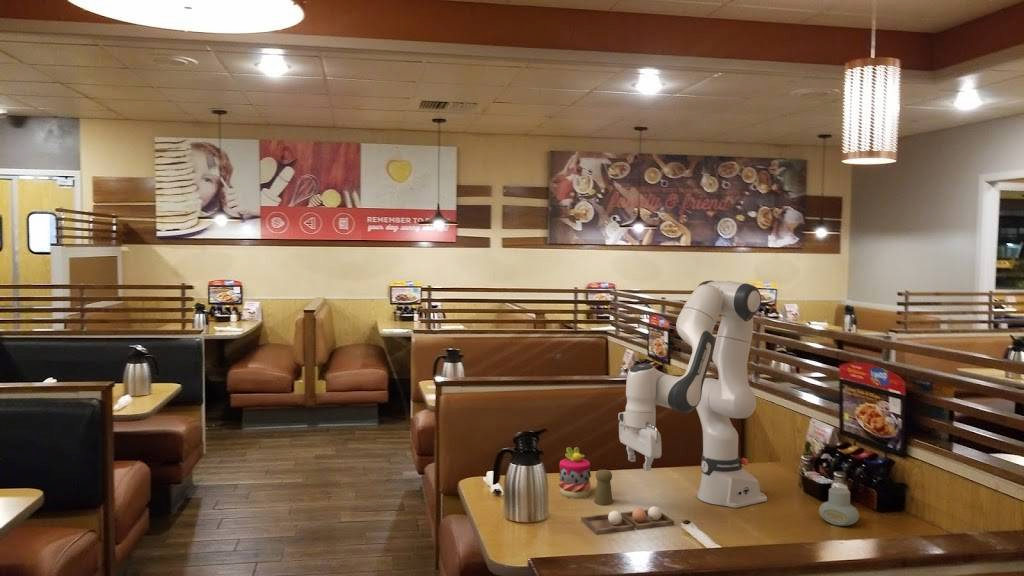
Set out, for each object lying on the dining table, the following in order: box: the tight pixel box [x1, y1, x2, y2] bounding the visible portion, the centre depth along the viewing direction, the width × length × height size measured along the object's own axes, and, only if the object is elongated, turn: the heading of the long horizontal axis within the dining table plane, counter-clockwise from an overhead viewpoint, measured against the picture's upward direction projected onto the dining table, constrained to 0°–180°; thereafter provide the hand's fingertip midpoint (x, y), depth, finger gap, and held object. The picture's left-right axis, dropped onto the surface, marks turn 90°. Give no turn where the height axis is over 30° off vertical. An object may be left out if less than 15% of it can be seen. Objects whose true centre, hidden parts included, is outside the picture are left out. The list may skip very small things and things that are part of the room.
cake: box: [558, 446, 592, 500], centre depth 242 cm, size 10×11×15 cm
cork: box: [593, 469, 614, 507], centre depth 232 cm, size 6×6×11 cm
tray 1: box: [580, 513, 635, 536], centre depth 212 cm, size 12×11×2 cm
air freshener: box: [818, 486, 860, 527], centre depth 217 cm, size 11×8×10 cm
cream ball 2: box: [647, 506, 662, 520], centre depth 217 cm, size 4×4×4 cm
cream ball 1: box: [608, 510, 622, 525], centre depth 213 cm, size 4×4×4 cm
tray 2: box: [619, 508, 675, 531], centre depth 216 cm, size 12×11×2 cm
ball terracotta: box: [632, 507, 646, 522], centre depth 215 cm, size 4×4×4 cm
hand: (639, 465), depth 215 cm, fingers open, 8 cm apart
